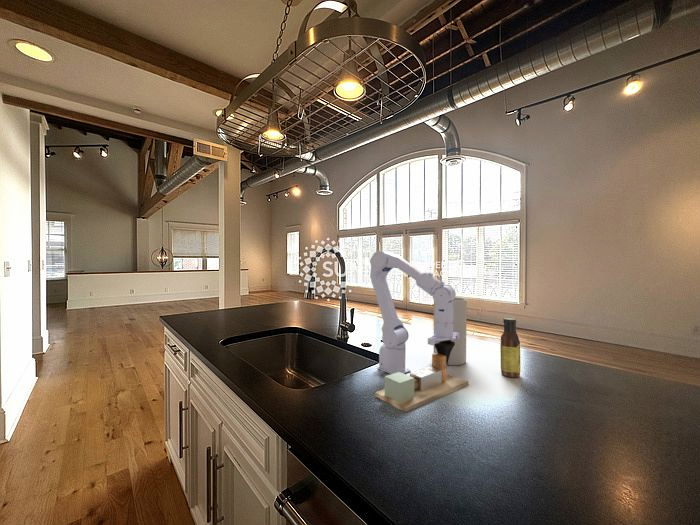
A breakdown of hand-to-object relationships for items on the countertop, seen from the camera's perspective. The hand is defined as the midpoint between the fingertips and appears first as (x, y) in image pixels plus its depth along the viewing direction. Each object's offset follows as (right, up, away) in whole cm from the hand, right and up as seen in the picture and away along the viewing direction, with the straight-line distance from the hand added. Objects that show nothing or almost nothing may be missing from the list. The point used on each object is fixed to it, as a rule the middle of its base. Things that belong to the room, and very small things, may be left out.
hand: (443, 363), depth 101 cm
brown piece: (-9, -5, -7) cm, 12 cm away
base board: (-8, -6, -6) cm, 12 cm away
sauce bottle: (+26, -7, +7) cm, 28 cm away
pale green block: (-17, -5, -13) cm, 22 cm away
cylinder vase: (+9, -7, +22) cm, 25 cm away
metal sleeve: (-7, -5, -6) cm, 11 cm away
